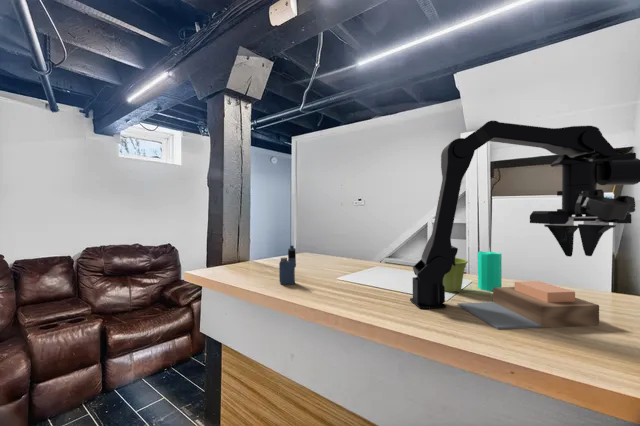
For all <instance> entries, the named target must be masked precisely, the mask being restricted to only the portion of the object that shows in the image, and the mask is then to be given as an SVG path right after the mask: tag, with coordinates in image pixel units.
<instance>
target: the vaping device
mask: <svg viewBox="0 0 640 426" xmlns="http://www.w3.org/2000/svg"><path fill="white" fill-rule="evenodd" d="M287 250H288V251H287V254H288V255H287V257H283V256H282V257H280V261H279V265H278V267H279V271H278V272H279V276H278V277H279V279H278V280H279V284H280V285H295V284H296V274H295V273H296V267H297V260H296V258H297V257H296V255H297V251H296V247H295V248H294V245H289V248H288V249H287Z"/></svg>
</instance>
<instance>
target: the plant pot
mask: <svg viewBox="0 0 640 426" xmlns="http://www.w3.org/2000/svg"><path fill="white" fill-rule="evenodd" d="M468 263H469V261H468V260H467V259H464V258H459V257H455V266H454V265H452V268H451V270H450V272H449V273H447V274H445V275H444V278H443V285H444V286H445V292H449V293H454V292H459V293H460V292H461V291H462V287H463V286H462V285H463V279H464V275H465V268H466V267H467V266H466V265H467V264H468Z"/></svg>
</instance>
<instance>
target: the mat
mask: <svg viewBox="0 0 640 426" xmlns="http://www.w3.org/2000/svg"><path fill="white" fill-rule="evenodd" d="M456 304H457V306H459V307H460V308H461V309H464V310H465V311H467V312H468V313H470V314H472V315H474V316H475V317H476V318H479V319H480V320H482V321H483V322H485V323H486V324H489V325H490V326H491V327H493V328H495V329H497V330H507V329H508V330H509V329H533V328H537V329H538V328H543V327H542V325H540V324H538V323H536V322H533V321H531V320H529V319H527V318H525V317H523V316H521V315H519V314H517V313H515V312H513V311H510V310H508V309H506V308H504V307H502V306H500V305H498V304H496V303H494V302H493V301H492V302H491V301H490V302H489V301H488V302H484V301H483V302H457V303H456Z"/></svg>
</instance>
